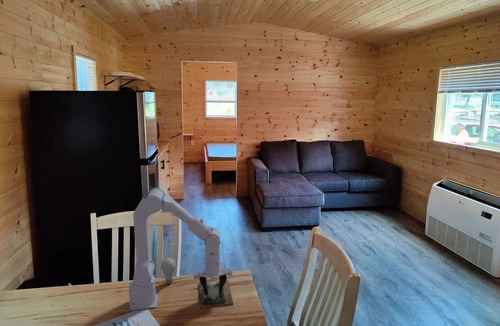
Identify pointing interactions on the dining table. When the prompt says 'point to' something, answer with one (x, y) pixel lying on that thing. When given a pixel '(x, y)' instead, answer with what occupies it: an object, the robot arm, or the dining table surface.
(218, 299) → the dark grey square frame
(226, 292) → the board
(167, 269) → the lightbulb
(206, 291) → the robot arm
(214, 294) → the pale green pear shape
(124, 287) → the dining table surface
